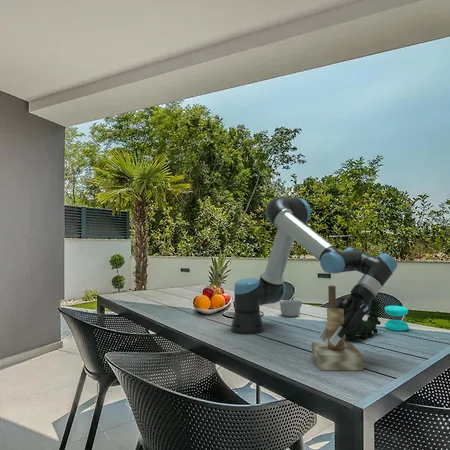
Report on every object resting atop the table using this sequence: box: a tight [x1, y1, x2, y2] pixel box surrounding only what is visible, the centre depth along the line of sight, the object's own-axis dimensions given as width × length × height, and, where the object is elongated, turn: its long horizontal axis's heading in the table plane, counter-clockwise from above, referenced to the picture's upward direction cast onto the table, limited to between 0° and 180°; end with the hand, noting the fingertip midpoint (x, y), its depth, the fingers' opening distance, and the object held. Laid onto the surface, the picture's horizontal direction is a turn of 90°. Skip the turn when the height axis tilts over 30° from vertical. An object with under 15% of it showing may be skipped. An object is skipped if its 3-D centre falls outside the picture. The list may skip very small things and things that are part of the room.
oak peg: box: [326, 307, 345, 351], centre depth 130 cm, size 6×6×18 cm
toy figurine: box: [344, 296, 382, 341], centre depth 161 cm, size 9×19×25 cm
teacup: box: [279, 299, 303, 318], centre depth 205 cm, size 14×11×8 cm
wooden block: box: [327, 285, 349, 310], centre depth 187 cm, size 4×11×18 cm, turn 29°
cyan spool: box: [384, 305, 409, 332], centre depth 174 cm, size 10×10×10 cm
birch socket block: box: [311, 341, 364, 371], centre depth 130 cm, size 14×14×5 cm
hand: (326, 340), depth 129 cm, fingers closed on oak peg, 6 cm apart
